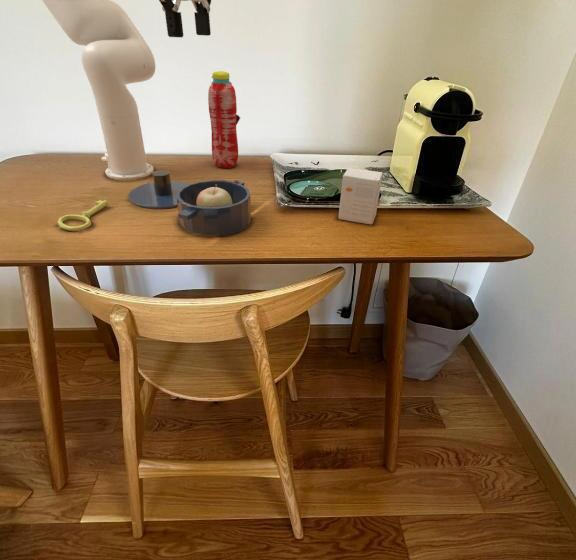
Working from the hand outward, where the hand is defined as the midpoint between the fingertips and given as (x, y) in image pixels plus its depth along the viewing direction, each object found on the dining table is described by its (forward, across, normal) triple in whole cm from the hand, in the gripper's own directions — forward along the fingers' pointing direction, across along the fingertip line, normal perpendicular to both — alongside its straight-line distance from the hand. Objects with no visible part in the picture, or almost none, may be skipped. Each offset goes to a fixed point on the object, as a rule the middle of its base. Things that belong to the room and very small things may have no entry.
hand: (190, 36), depth 80 cm
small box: (+35, -5, +37) cm, 51 cm away
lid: (+33, +6, -9) cm, 35 cm away
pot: (+34, +11, +9) cm, 37 cm away
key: (+34, +23, -16) cm, 44 cm away
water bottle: (+34, -24, -8) cm, 42 cm away
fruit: (+34, +11, +9) cm, 37 cm away
